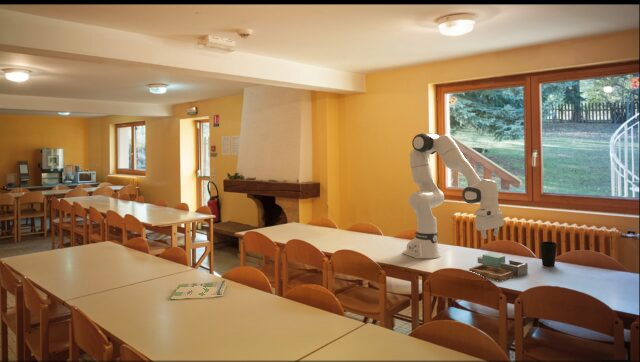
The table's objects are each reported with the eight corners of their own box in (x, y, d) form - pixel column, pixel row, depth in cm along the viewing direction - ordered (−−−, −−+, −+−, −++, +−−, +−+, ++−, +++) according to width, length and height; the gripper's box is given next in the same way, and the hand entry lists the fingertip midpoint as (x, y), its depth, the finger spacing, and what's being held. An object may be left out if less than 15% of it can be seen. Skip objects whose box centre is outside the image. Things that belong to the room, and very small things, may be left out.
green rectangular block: (475, 266, 225) (475, 253, 224) (482, 264, 228) (482, 251, 228) (498, 271, 214) (498, 258, 214) (505, 269, 218) (505, 256, 217)
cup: (558, 267, 217) (559, 244, 216) (542, 267, 218) (542, 244, 218) (553, 263, 224) (554, 241, 224) (538, 263, 226) (538, 241, 225)
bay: (500, 272, 212) (500, 263, 211) (510, 269, 217) (510, 259, 217) (517, 276, 204) (517, 266, 204) (527, 273, 210) (527, 263, 209)
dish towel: (222, 298, 189) (222, 290, 189) (169, 301, 187) (169, 294, 187) (227, 286, 206) (227, 279, 206) (179, 289, 204) (178, 281, 204)
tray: (469, 273, 213) (469, 268, 212) (482, 269, 219) (482, 264, 219) (500, 281, 199) (500, 276, 199) (513, 276, 205) (513, 271, 205)
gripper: (495, 208, 228) (496, 233, 229) (472, 212, 216) (473, 239, 217) (506, 208, 223) (507, 234, 224) (483, 213, 211) (484, 240, 212)
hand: (490, 237), depth 220 cm, fingers open, 8 cm apart
